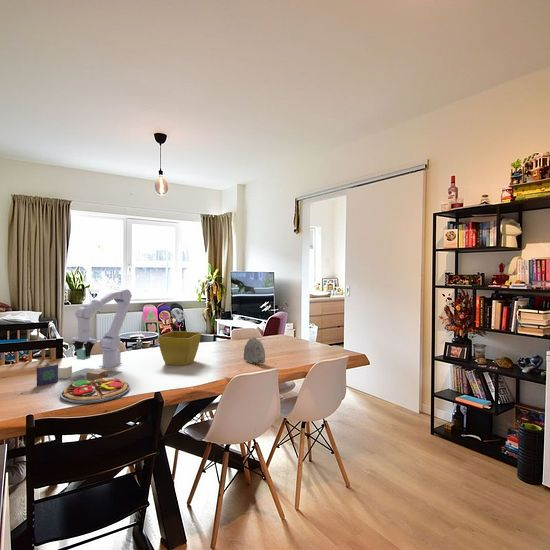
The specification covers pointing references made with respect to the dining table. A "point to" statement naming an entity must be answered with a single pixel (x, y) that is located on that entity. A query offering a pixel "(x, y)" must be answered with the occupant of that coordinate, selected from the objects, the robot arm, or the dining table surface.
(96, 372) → the walnut base
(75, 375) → the mat
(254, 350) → the decorative rock
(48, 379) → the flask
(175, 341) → the flower pot
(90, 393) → the toy pizza
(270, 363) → the dining table surface
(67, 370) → the cream block
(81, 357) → the teal block
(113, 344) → the robot arm
